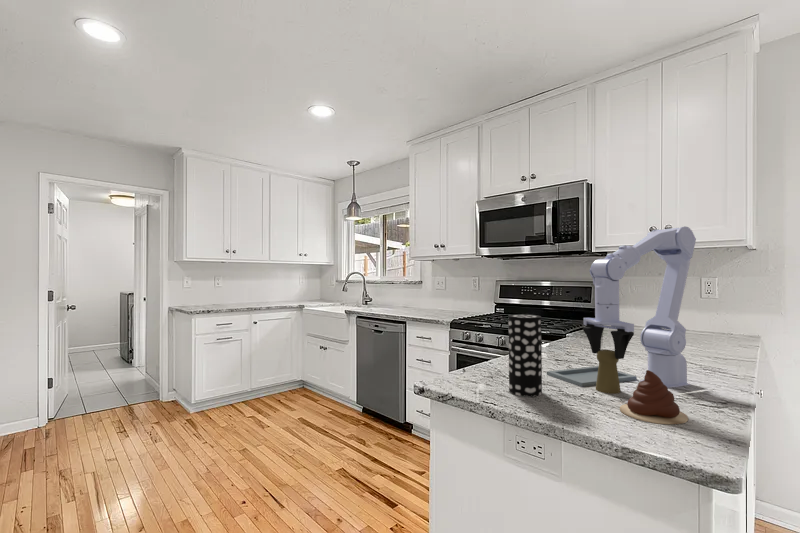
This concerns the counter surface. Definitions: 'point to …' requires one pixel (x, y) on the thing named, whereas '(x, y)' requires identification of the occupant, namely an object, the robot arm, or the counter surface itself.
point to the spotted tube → (525, 355)
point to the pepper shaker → (607, 372)
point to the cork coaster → (655, 417)
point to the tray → (585, 376)
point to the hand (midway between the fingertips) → (607, 355)
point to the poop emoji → (653, 398)
